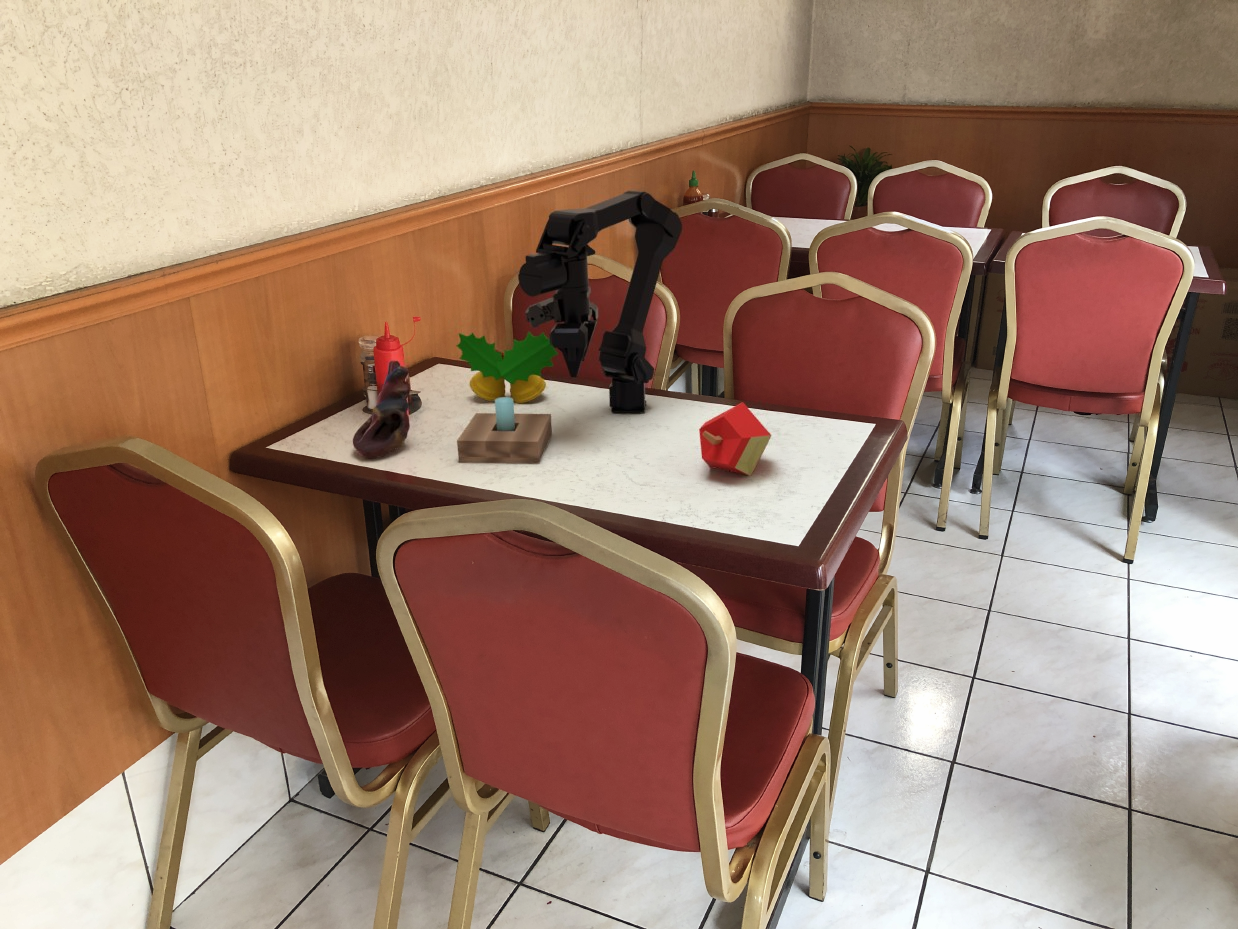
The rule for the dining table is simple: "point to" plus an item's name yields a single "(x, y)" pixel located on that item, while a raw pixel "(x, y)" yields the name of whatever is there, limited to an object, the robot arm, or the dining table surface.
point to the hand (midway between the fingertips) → (577, 368)
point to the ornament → (507, 366)
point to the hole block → (505, 439)
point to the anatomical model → (386, 417)
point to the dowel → (505, 414)
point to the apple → (734, 440)
